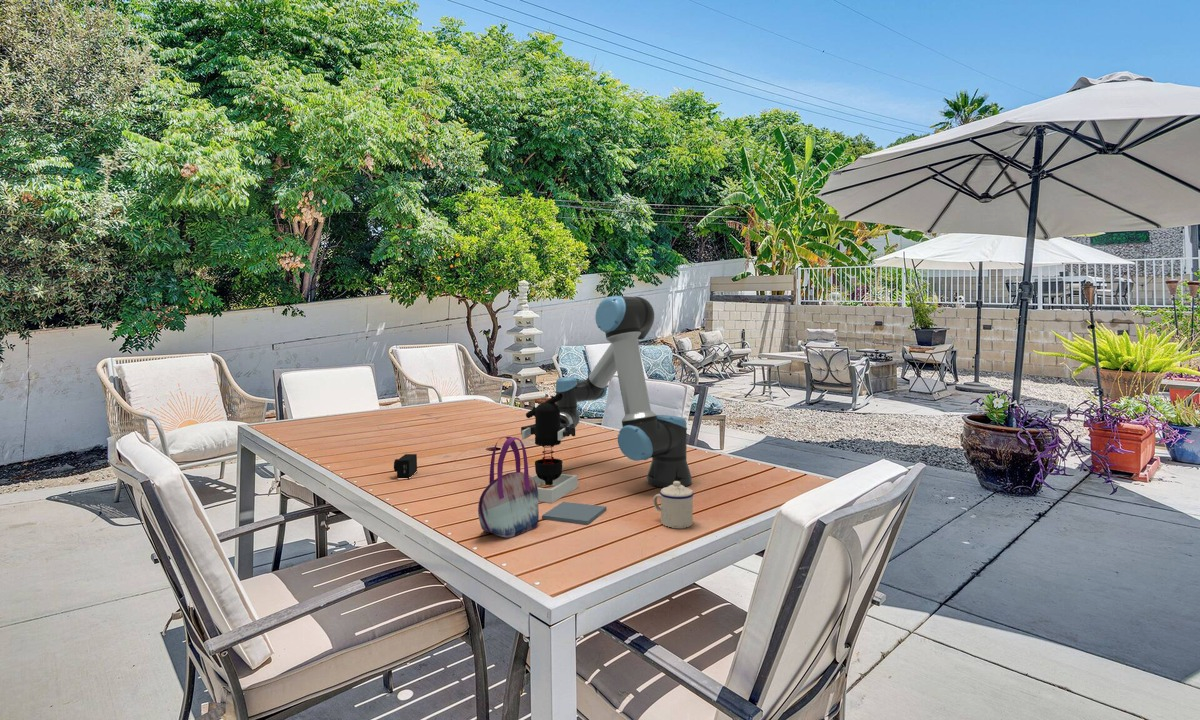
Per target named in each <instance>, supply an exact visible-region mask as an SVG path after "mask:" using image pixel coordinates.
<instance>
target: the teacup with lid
mask: <svg viewBox="0 0 1200 720" xmlns="http://www.w3.org/2000/svg"><path fill="white" fill-rule="evenodd" d="M694 495H695V494H694V491H693V490H692V489H691V488H689V487H687V486H686V487H684V486H683V485H680V482H679V481H674V482H673V485H670V486H668V487H665V488H661V489H660V492H659V493H657V494H655V495H654V496H653V500H652V503H653V507H654V508H655V510H656V511H657V512H660V524H661V525H662V524H663V525H662V526H664V525H665V526H664V527H666V526H668V527H667V528H669V527H673V528H672V529H686V527H687V528H689V526H690V527H691V526H692V525H693V522H694V521H693V520H694V519H693V515H694V514H693V512H694V511H693V509H694V505H693V504H694V503H693V502H694V501H693V497H694ZM658 498H660V506H659V504H658Z"/></svg>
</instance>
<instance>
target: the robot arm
mask: <svg viewBox="0 0 1200 720" xmlns="http://www.w3.org/2000/svg"><path fill="white" fill-rule="evenodd" d="M594 316H595V317H594V319H595V324H596V326H597V328H598V329H600V331H602V332H604V333H605V338H606V339H605V340H606V341H608V342H609V343H610V345H609V346H608V347H607V349H606V350H605V352H604V353H603V355H602V356H601V358H600V359H599V361H598V362H597V364H595V366H594V367H593V369H592V370H591V372H590V373H589V375H588V376H587V378H586V379H585V380H581V381H577V378H576V377H572V376H566V377H565V376H563V377H558V378H557V379H556V382H555V395H557V394H559V393H561V394H562V395H563V398H562V399H561V400H560V401H557V402H556V403H555V404H557V405H558V406H559V408H560V431H558V440H561V441H562V440H563V439H565V438H566V437H570V435H571V437H576V427H577V426H578V425H579V423H580V419H581V418H580V417H581V416H580V414H579V412H578V403H580V402H587V401H596V400H599V399H603V398H604V397H605V396H606V395H607V391H608V388H607V385H608V384H609V383H610V381H611V380H612V378H613V377H614V375H615V374H616V373H617V378H618V383H619V388H620V390H619V391H620V395H621V400H622V405H623V406H622V407H623V411H624V417H623V418H622V419H621V425H622V428H620V430H619V432H618V434H617V444H618V447H619V450H620V451H621V453H622V454H623V455H624V456H625V457H627V459H628V460H631V461H639V462H640V461H647V460H649V459H651V464H650V465H649V466H650V467H649V469H648V471H647V472H648V473H647V476H646V480H647V481H646V482H648V483H647V484H648V485H650V486H652V485H653V487H656V486H657V487H656V488H662V487H663V488H665V487H668V486H670V485H673V482H674V481H679V482H680V485H683V486H684V487H685V486H686V487H688V485H689V486H691V484H693V483H692V479H693V478H692V477H693V476H692V473H691V471H690V468H689V465H688V461H687V442H688V439H687V438H688V437H687V431H688V427H687V420H686V418H684V417H682V416H678V415H677V416H676V415H667V414H666V415H665V414H656V413H655V412H654V411H652V409H651V403H650V400H649V399H650V397H649V394H648V393H649V392H648V389H647V382H646V377H645V372H644V368H643V362H642V357H641V356H642V355H641V352H640V351H641V350H640V345H639V341H642V340H644V339H645V338H646V337H647V336H648V334H649V332H650V331H651V329H652V327H653V324H654V321H655V311H654V307H653V305H652V304H651V303H650V301H648V300H647V299H646V298H644V297H640V296H626V295H625V296H622V295H621V296H620V295H615V296H607V297H605V298H603V299H602V300H601V301H600V303H599V304H598V306H597V307H596V311H595V315H594ZM520 432H521V433H520V435H521V441H522V440H526V439H528V438H529V437H531V436H533V435H535V423H534V424H529V425H526V426H521V427H520ZM663 488H662V489H663Z"/></svg>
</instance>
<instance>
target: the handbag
mask: <svg viewBox="0 0 1200 720" xmlns="http://www.w3.org/2000/svg"><path fill="white" fill-rule="evenodd" d="M504 438H505V439H506V440H505V441H504V443H503V445H502V448H501V450H500V453H499V456H498V461H497V466H496V467H497V468H496V470H497V472H496V473H497V474H496V475H497V478H496V479H495V459H496V450H497V446H498V445H497V444H498V441H499V440H500V441H501V440H502V439H504ZM499 440H498V441H497V442H496V443H495V445H494V447H493V450H492V453H491V459H490V467H489V478H488V480H489V481H488V482H489V484H488V485H487V486H486V487H485V488H484V490H483V491H482V493H481V494H480V497H479V501H478V509H477V512H478V521H479V524H480V527H481V529H482V531H483V532H486V533H491V534H493V535H495V536H499V537H502V538H513V537H517V536H518V535H520V534H523V533H525V532H527V531H531V530H533V529H535V528H536V527H537V526H538V524H539V513H540V512H539V500H538V489H537V488H538V487H537V485H536V482H535V480H534V479H533V477H531V476H532V475H530V474H529V463H528V456H527V450H526V448H525V445H524V443H523V441H522V439H520V438H519V437H516V436H514V437H512V436H503V437H501V438H499ZM516 440H517V441H519V442H520V445H521V448H522V449H521V450H522V455H523V456H522V458H523V471H524V472H523V471H522V472H521V454H520V450H519V448H518V447H519V446H518V445H517V443H516ZM509 448H510V449H511V450H512V453H513V455H514V456H513V457H514V459H515V460H514V461H515V471H514V472H508V473H505V474H503V472H504V471H503V470H504V460H505V458H506V455H507V453H508V450H509Z"/></svg>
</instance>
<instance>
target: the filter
mask: <svg viewBox="0 0 1200 720" xmlns="http://www.w3.org/2000/svg"><path fill="white" fill-rule="evenodd" d="M562 398H563V395H562V394H561V393H559V394H557V395H556V394H555V395H551V396H550V398H549V399H547V400H546V401H543V402H541V403H539V404H538V405H537V406H532V409H531V410H529V411H528V412H525V417H526V418H527V419H531V418H533V417H534V419H535V420H534V421H535V422H534V424H535V434H534V444H535V445H536V446H541V447H542V448H543V451H542V454H543V457H541V459H537V460H535V461H534V468H535V470H534V471H535V474H537V476H538V478H540V479H542V480H544V481H545V486H552V484H553V480H555V479H557V478H559V477H560V475H561V474H563V463H564V462H563V460H562V459H560V458H555V457H554V456H553V454H554V452H555V451H553V448H554V447H555V446H559V445H561V444H562V443H561V441H562V440H558V431H560V408H559V406H558V405H557V404H556V402H557V401H560V400H561V399H562ZM545 448H551V450H549V452H547V450H545ZM546 454H547V455H549V454H551V456H546Z"/></svg>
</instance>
